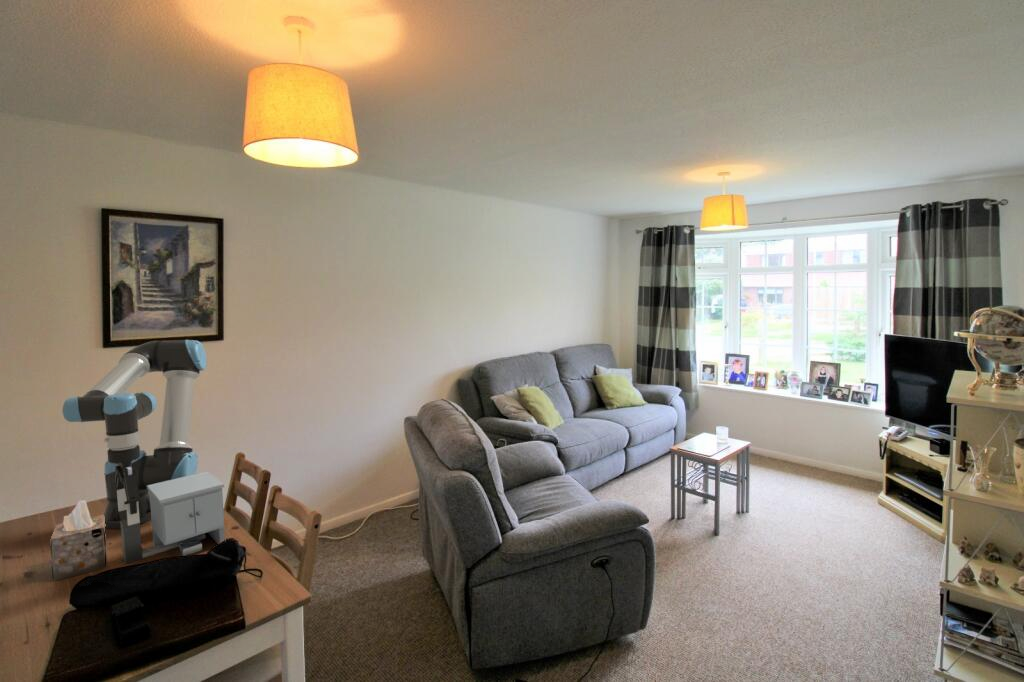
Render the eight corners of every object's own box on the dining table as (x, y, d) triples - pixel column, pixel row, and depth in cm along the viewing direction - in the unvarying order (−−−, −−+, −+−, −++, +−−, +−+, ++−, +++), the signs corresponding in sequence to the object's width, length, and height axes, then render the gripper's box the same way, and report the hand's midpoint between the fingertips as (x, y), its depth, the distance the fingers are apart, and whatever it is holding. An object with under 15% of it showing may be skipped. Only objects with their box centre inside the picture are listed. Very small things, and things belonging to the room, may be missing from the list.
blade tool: (123, 559, 153) (120, 520, 151) (202, 534, 168) (199, 499, 166) (126, 564, 150) (122, 525, 149) (206, 538, 165) (203, 503, 164)
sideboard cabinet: (151, 546, 160) (146, 485, 158) (211, 528, 172) (207, 471, 170) (165, 567, 148) (160, 501, 146) (228, 545, 161) (224, 484, 158)
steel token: (179, 550, 158) (178, 543, 158) (197, 545, 162) (197, 537, 161) (183, 556, 155) (183, 549, 154) (202, 550, 158) (201, 543, 158)
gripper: (99, 440, 155) (105, 508, 157) (115, 459, 138) (121, 534, 140) (130, 435, 160) (135, 500, 162) (149, 453, 143) (154, 525, 145)
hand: (128, 516), depth 151 cm, fingers open, 13 cm apart
